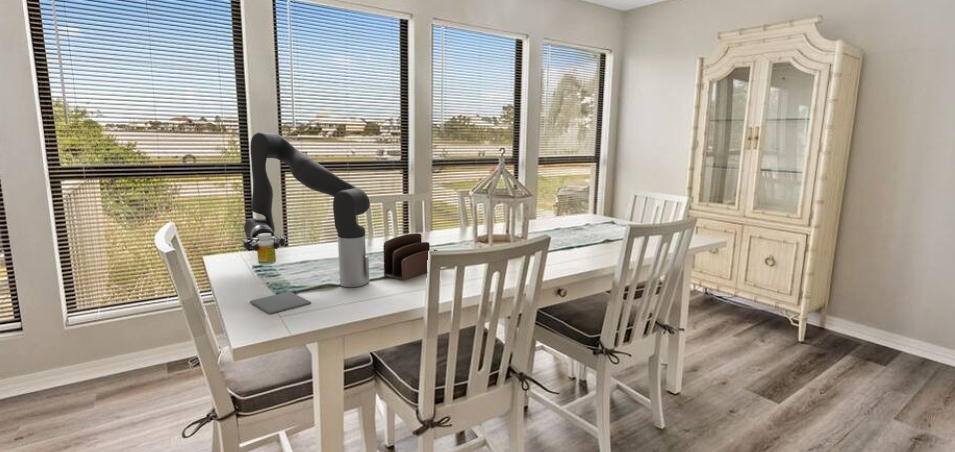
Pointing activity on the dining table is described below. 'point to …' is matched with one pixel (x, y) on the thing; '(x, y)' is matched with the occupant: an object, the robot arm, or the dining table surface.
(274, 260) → the supplement bottle
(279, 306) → the mat
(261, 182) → the robot arm
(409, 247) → the letter holder
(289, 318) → the dining table surface
